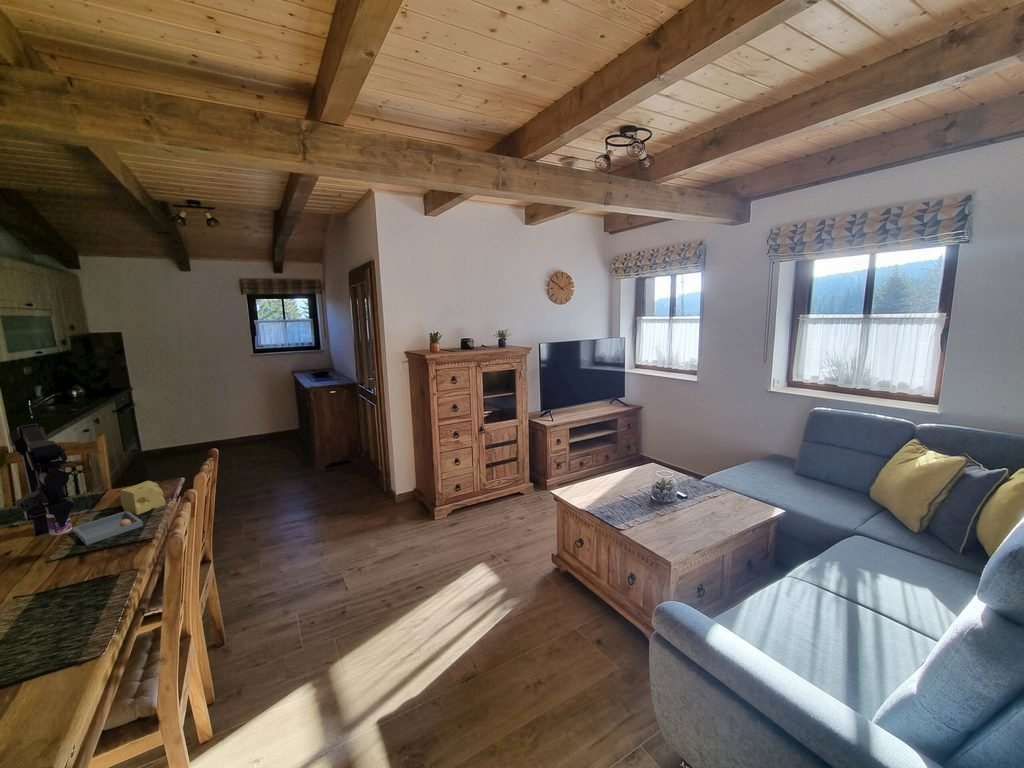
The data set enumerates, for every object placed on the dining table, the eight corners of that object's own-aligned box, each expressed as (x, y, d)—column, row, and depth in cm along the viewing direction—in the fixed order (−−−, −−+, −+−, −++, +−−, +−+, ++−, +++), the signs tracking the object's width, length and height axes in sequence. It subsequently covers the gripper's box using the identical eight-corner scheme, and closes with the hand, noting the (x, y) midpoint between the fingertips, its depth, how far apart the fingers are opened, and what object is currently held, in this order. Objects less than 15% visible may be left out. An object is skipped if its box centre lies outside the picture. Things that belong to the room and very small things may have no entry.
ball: (119, 528, 164) (117, 520, 163) (129, 524, 166) (128, 516, 166) (122, 530, 162) (120, 522, 161) (132, 526, 165) (131, 518, 164)
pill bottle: (58, 536, 144) (52, 509, 142) (45, 534, 145) (39, 508, 143) (77, 528, 149) (71, 502, 148) (64, 526, 150) (59, 500, 149)
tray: (73, 534, 161) (72, 527, 161) (128, 516, 174) (127, 510, 174) (86, 546, 152) (85, 539, 152) (143, 527, 165) (142, 520, 165)
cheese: (166, 505, 183) (162, 483, 182) (135, 517, 174) (131, 493, 172) (152, 501, 188) (148, 479, 186) (122, 512, 178) (117, 489, 176)
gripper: (8, 483, 142) (18, 527, 145) (20, 496, 132) (31, 543, 135) (56, 472, 152) (65, 513, 154) (71, 484, 141) (80, 528, 144)
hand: (60, 524), depth 147 cm, fingers closed on pill bottle, 5 cm apart
